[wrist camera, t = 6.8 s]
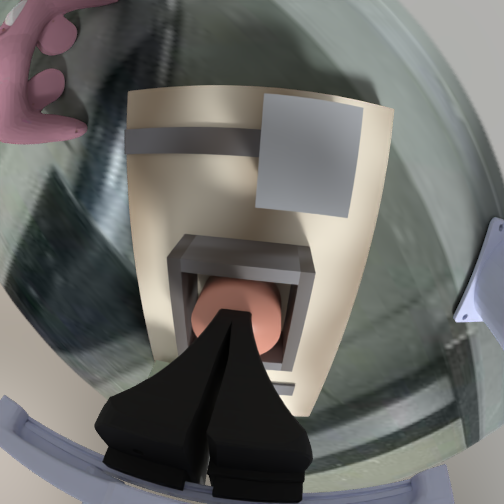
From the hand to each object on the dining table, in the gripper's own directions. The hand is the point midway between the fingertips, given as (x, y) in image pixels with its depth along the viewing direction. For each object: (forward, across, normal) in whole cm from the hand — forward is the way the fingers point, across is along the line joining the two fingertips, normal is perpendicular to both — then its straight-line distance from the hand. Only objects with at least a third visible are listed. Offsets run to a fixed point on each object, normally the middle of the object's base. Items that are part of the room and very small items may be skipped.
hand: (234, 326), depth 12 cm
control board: (+4, 0, +1) cm, 4 cm away
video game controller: (+5, +11, -13) cm, 18 cm away
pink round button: (+2, 0, 0) cm, 2 cm away
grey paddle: (+2, -2, -8) cm, 8 cm away
